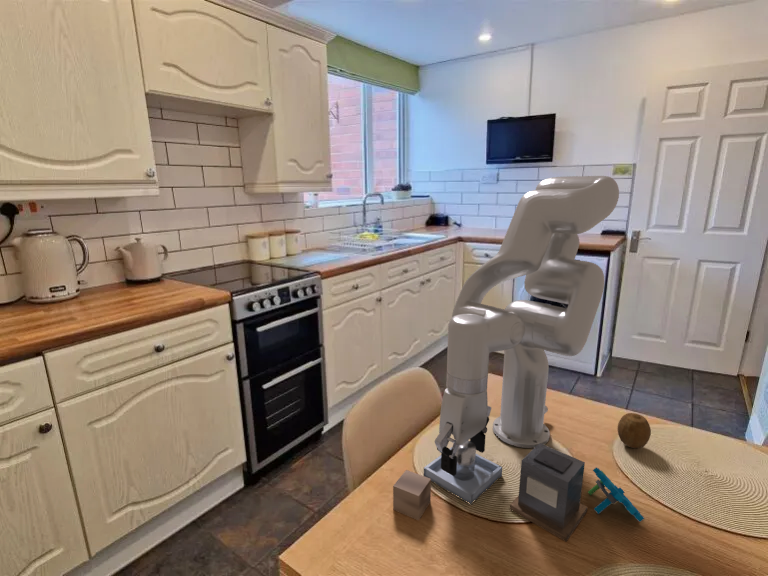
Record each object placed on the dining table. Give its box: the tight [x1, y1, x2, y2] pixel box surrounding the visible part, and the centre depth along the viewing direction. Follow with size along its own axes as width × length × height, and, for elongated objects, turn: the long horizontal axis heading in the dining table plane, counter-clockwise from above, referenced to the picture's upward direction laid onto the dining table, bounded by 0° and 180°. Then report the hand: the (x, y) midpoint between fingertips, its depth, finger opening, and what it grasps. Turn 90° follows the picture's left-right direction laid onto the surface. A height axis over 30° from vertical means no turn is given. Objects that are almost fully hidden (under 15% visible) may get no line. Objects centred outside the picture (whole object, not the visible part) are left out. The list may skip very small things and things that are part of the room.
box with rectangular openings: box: [509, 443, 588, 542], centre depth 73 cm, size 9×10×10 cm
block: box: [392, 469, 432, 521], centre depth 75 cm, size 5×5×5 cm
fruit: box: [617, 412, 652, 449], centre depth 91 cm, size 6×6×8 cm
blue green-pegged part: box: [587, 467, 645, 523], centre depth 73 cm, size 11×6×10 cm
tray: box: [423, 446, 503, 505], centre depth 83 cm, size 11×11×2 cm
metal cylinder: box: [454, 440, 477, 481], centre depth 82 cm, size 4×4×6 cm
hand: (463, 460), depth 82 cm, fingers open, 9 cm apart
